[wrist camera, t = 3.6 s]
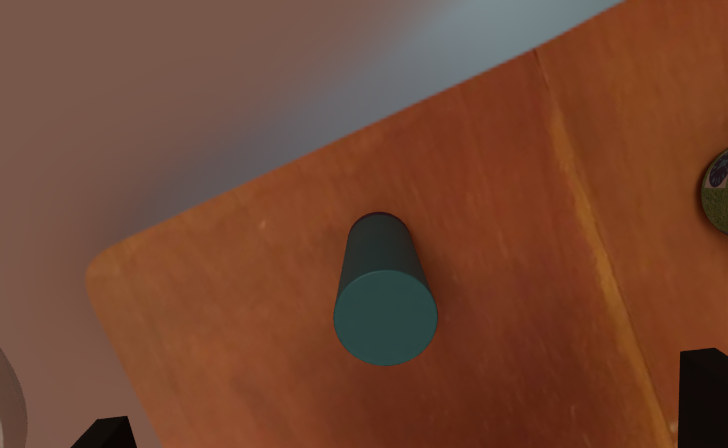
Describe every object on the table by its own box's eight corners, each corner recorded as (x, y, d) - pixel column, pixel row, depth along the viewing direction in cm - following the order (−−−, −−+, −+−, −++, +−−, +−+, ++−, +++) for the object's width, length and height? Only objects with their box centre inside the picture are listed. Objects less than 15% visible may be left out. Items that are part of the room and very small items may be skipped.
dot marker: (352, 276, 27) (341, 372, 17) (343, 216, 26) (325, 277, 16) (413, 268, 27) (443, 360, 16) (406, 207, 26) (432, 263, 15)
